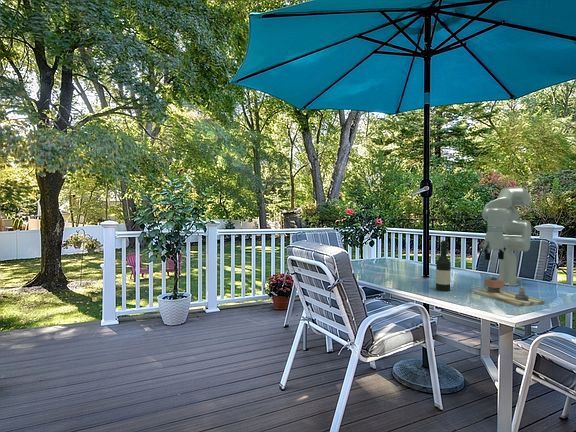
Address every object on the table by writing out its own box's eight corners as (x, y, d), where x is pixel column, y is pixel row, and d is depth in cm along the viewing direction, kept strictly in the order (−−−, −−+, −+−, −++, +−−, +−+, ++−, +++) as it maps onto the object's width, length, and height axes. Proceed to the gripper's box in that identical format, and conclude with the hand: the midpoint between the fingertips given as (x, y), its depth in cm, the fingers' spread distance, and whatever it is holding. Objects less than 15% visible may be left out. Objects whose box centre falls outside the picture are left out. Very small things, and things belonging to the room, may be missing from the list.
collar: (493, 284, 217) (493, 278, 217) (503, 287, 210) (503, 280, 210) (484, 285, 215) (484, 278, 215) (494, 288, 208) (494, 281, 208)
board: (497, 290, 221) (497, 275, 221) (545, 303, 192) (545, 285, 192) (473, 292, 216) (473, 276, 216) (518, 306, 187) (518, 287, 187)
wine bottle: (440, 287, 229) (440, 239, 228) (453, 290, 222) (454, 240, 221) (432, 289, 224) (433, 240, 223) (446, 292, 217) (446, 241, 216)
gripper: (501, 229, 218) (500, 258, 218) (477, 229, 213) (477, 259, 213) (512, 230, 210) (511, 259, 211) (488, 230, 205) (487, 260, 206)
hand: (494, 259), depth 212 cm, fingers open, 9 cm apart
